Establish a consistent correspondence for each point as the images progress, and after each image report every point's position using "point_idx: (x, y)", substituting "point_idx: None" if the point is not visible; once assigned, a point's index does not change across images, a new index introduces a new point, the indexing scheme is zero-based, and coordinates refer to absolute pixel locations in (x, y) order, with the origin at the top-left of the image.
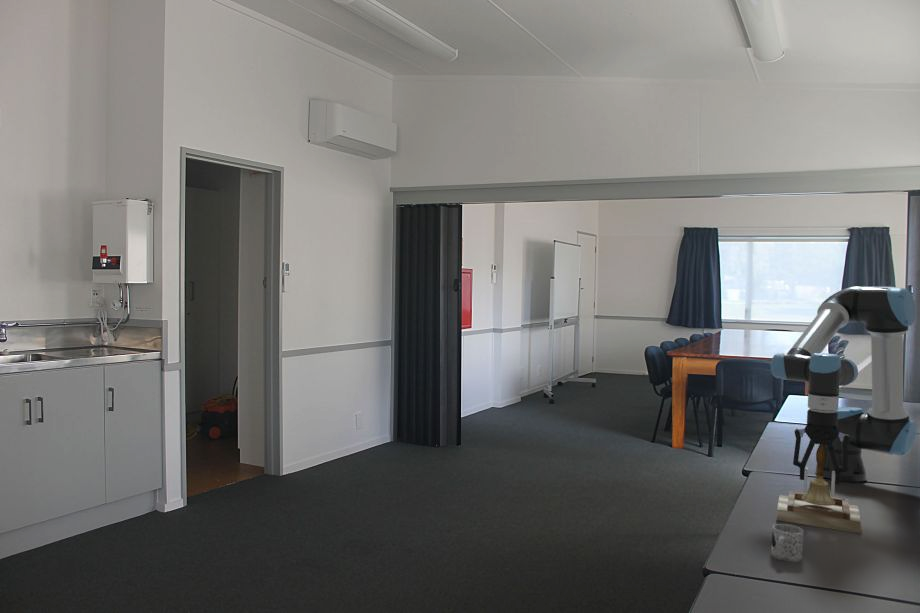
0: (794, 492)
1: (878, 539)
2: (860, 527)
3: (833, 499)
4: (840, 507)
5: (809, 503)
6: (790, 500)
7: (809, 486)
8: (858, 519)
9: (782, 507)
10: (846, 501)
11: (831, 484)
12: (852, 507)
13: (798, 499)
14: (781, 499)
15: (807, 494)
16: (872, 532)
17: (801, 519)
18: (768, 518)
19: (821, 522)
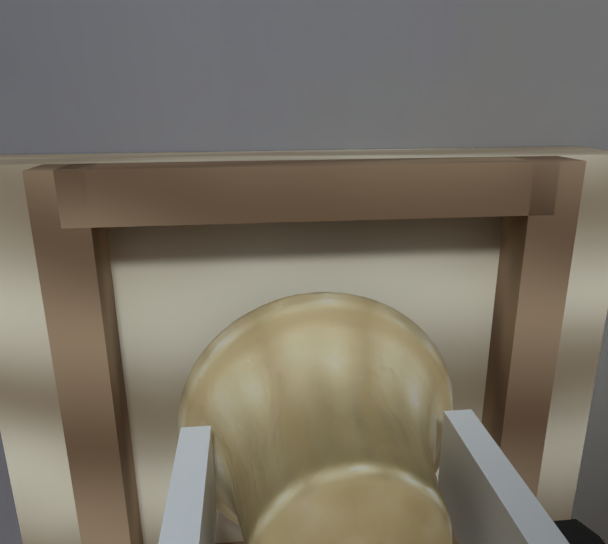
0: (82, 195)
1: (601, 536)
2: None
3: (452, 216)
4: (484, 284)
5: (243, 310)
6: (94, 494)
7: (239, 521)
8: (561, 510)
9: (59, 535)
10: (558, 249)
11: (487, 527)
12: (579, 228)
13: (142, 230)
14: (2, 321)
15: (227, 504)
16: (598, 440)
17: None
18: (5, 523)
19: None
